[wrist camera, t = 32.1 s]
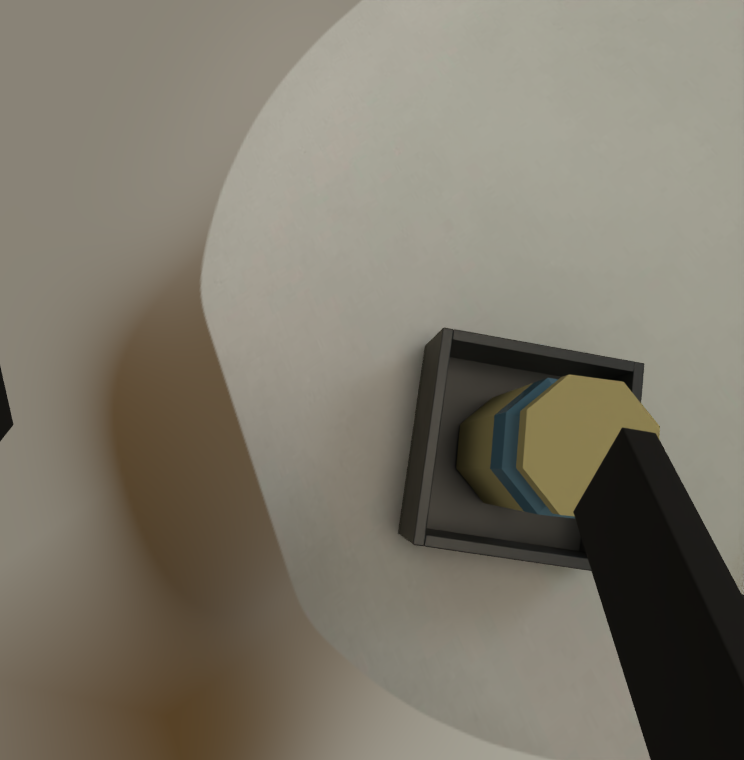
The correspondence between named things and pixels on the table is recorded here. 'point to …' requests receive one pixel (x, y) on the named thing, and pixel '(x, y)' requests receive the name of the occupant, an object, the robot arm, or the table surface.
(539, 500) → the jar
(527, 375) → the bin
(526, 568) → the table surface
